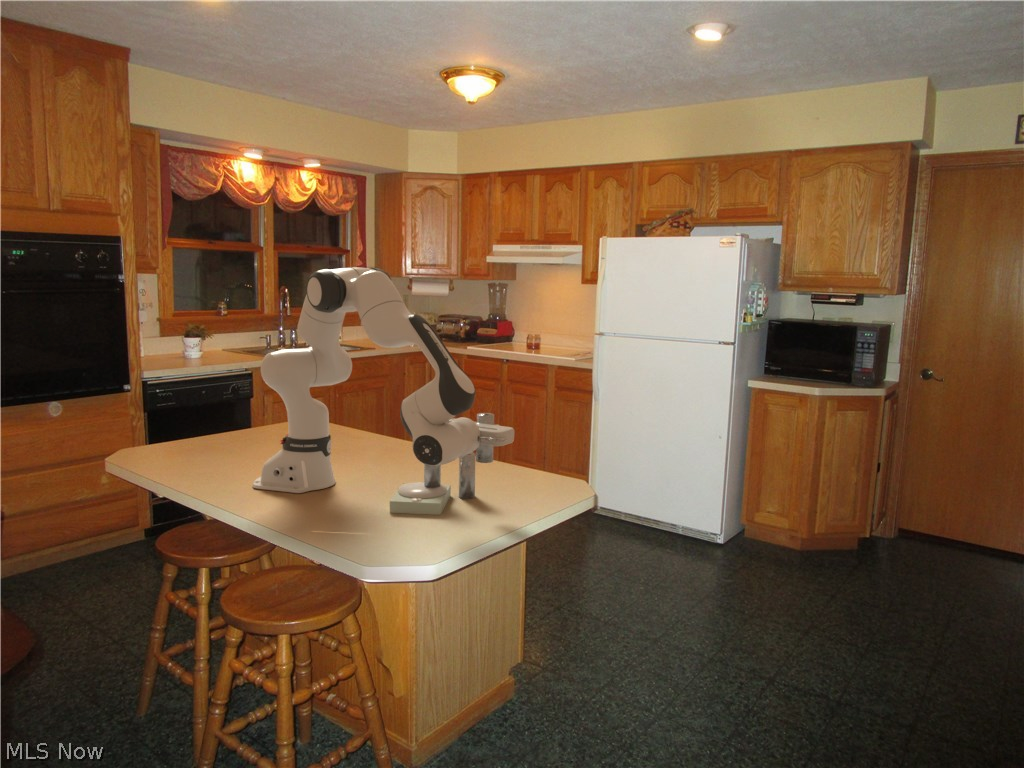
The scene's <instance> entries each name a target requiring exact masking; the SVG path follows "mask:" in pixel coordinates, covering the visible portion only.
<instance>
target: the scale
mask: <svg viewBox="0 0 1024 768" xmlns="http://www.w3.org/2000/svg"><path fill="white" fill-rule="evenodd" d="M451 487H452V485H449V484H442V483H441V486H440V487H437V488H427V487H425V486H424V481H417V482H409V483H408V482H407V483H403V484H402V485H400V486H399V487H398V488H397V491H396V493H395V494H394V495H393V496H392V498H391V499H390V500H389V513H392V514H410V515H411V514H412V515H413V514H414V515H432V516H433V515H435V516H441V515H442V513H443V511H444V510H445V508H446V505H447V504H448V502H449V500H450V498H451V492H452V491H451Z"/></svg>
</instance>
